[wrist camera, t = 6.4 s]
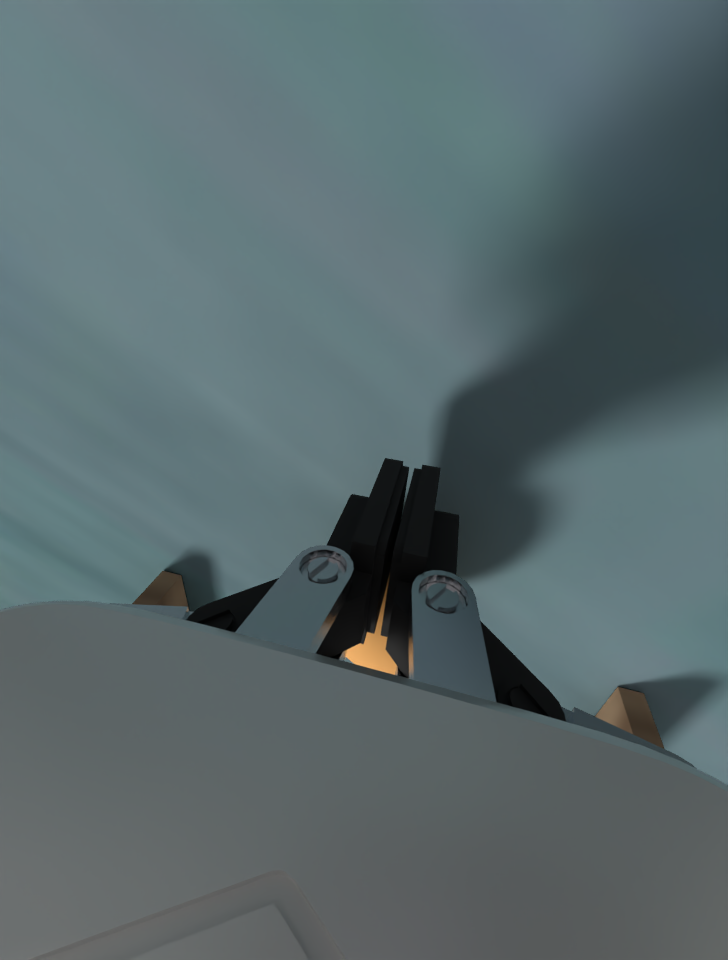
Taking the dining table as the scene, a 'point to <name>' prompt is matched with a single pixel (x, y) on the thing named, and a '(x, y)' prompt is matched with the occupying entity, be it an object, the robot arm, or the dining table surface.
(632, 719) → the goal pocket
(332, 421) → the dining table surface
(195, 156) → the dining table surface
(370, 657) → the ball
